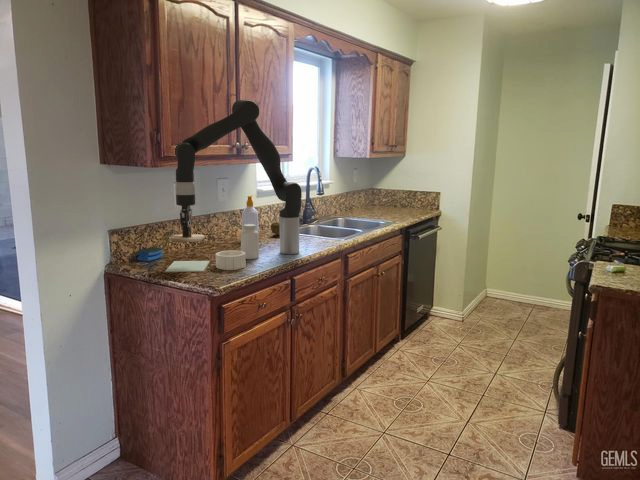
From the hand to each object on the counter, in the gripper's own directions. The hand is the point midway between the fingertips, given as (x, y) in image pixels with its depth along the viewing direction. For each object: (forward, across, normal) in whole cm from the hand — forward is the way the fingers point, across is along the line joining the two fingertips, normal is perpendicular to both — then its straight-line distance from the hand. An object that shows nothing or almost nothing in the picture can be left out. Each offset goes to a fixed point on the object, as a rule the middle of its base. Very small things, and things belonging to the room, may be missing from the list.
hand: (187, 235), depth 199 cm
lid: (+2, 0, 0) cm, 2 cm away
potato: (+13, +71, -38) cm, 82 cm away
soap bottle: (+13, +57, -23) cm, 63 cm away
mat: (+13, 0, 0) cm, 13 cm away
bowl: (+13, 0, -18) cm, 22 cm away
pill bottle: (+13, +16, -25) cm, 32 cm away
